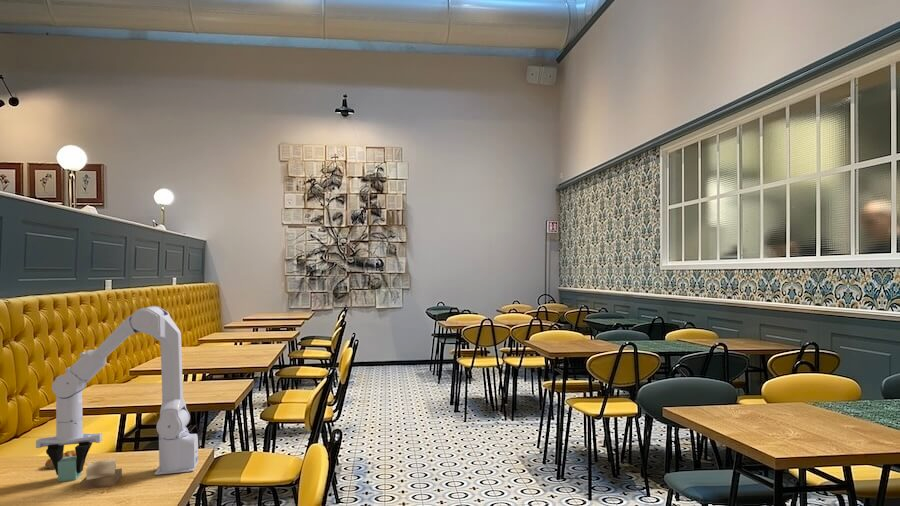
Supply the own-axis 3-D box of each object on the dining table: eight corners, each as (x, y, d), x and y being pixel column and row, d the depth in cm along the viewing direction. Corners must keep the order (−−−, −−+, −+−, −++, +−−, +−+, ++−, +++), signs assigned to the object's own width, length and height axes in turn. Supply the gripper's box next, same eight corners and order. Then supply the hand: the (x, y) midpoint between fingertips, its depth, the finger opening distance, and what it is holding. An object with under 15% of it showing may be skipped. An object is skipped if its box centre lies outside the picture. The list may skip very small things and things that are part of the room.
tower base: (121, 478, 150) (121, 468, 150) (113, 487, 143) (113, 477, 143) (91, 481, 148) (91, 471, 148) (81, 491, 141) (81, 481, 141)
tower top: (115, 468, 150) (115, 458, 150) (114, 475, 145) (114, 465, 145) (88, 472, 147) (88, 462, 147) (86, 479, 142) (86, 469, 142)
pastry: (46, 472, 154) (46, 458, 154) (43, 466, 159) (43, 452, 160) (87, 464, 160) (87, 450, 160) (83, 458, 165) (83, 445, 166)
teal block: (81, 474, 151) (81, 455, 152) (75, 480, 148) (75, 460, 148) (64, 476, 150) (64, 457, 151) (57, 481, 147) (57, 462, 147)
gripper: (105, 413, 155) (106, 464, 155) (44, 418, 151) (44, 470, 151) (96, 420, 148) (97, 473, 148) (32, 425, 145) (32, 480, 144)
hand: (69, 472), depth 149 cm, fingers closed on teal block, 4 cm apart
